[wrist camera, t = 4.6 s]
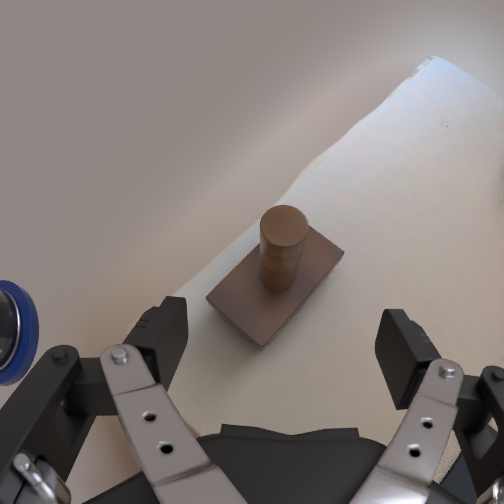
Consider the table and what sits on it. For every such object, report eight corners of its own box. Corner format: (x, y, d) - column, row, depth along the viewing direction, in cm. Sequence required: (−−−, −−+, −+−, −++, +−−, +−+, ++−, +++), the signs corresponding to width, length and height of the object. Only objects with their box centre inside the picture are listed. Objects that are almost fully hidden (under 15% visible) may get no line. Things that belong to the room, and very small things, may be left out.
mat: (452, 532, 15) (454, 533, 14) (416, 513, 17) (418, 514, 16) (510, 445, 18) (513, 445, 17) (480, 419, 20) (483, 419, 19)
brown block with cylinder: (261, 354, 24) (262, 325, 15) (210, 308, 25) (183, 255, 16) (336, 267, 27) (371, 199, 18) (288, 229, 28) (299, 151, 19)
